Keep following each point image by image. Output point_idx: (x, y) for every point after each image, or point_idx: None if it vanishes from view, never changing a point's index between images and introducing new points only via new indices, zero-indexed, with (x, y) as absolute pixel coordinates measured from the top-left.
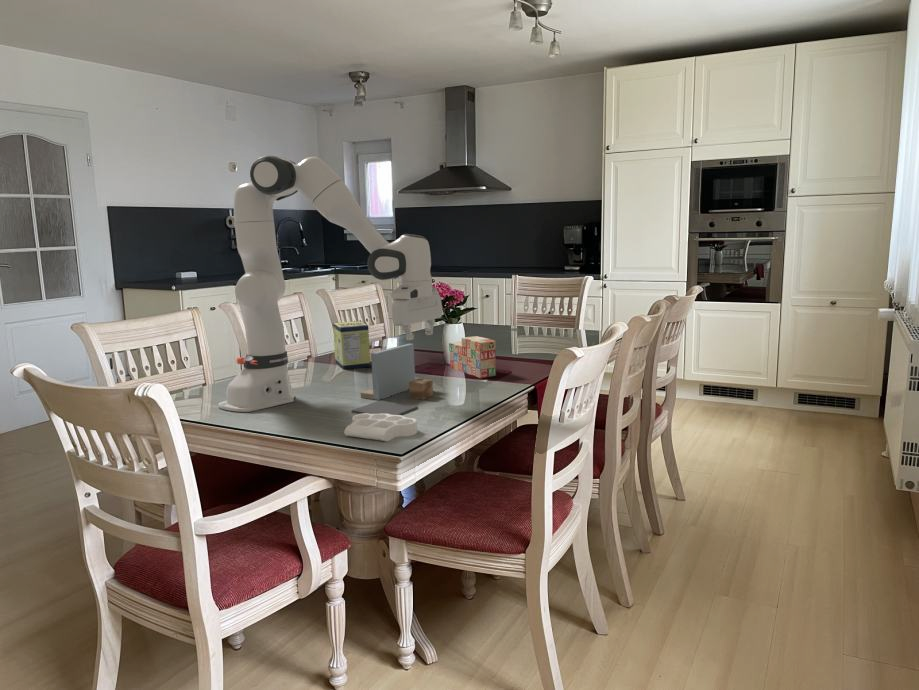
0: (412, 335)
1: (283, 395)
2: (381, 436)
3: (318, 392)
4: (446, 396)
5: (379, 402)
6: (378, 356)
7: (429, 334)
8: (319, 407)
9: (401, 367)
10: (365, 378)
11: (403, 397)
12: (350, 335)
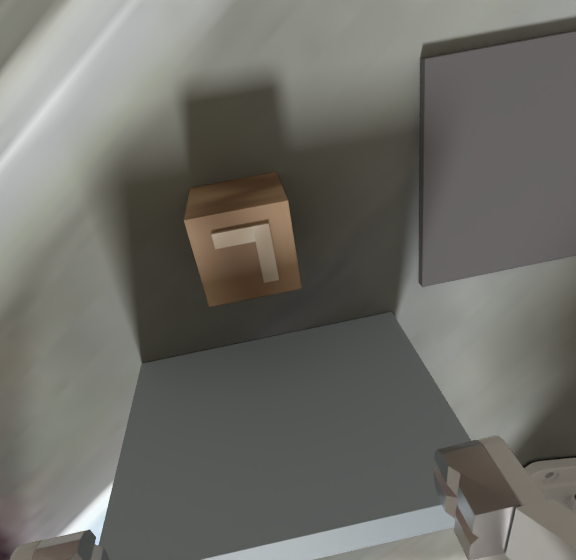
0: (490, 483)
1: (549, 493)
2: None
3: None
4: (143, 120)
5: (449, 262)
6: None
7: (85, 535)
8: (556, 373)
9: (239, 431)
10: None
11: (300, 273)
12: None
